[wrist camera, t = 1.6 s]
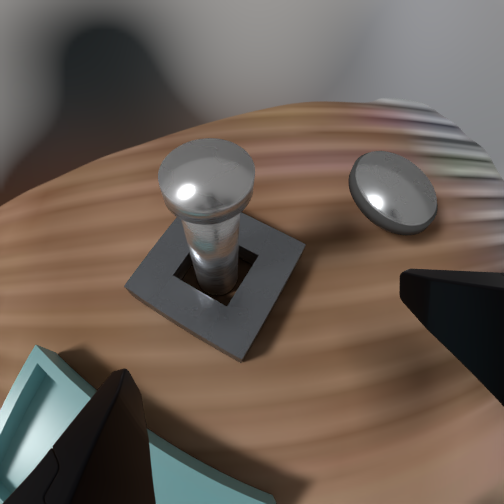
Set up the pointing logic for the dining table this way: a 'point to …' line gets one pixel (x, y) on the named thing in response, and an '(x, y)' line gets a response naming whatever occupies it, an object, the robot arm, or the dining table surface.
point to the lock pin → (209, 205)
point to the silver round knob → (393, 193)
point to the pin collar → (206, 308)
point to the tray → (64, 412)
